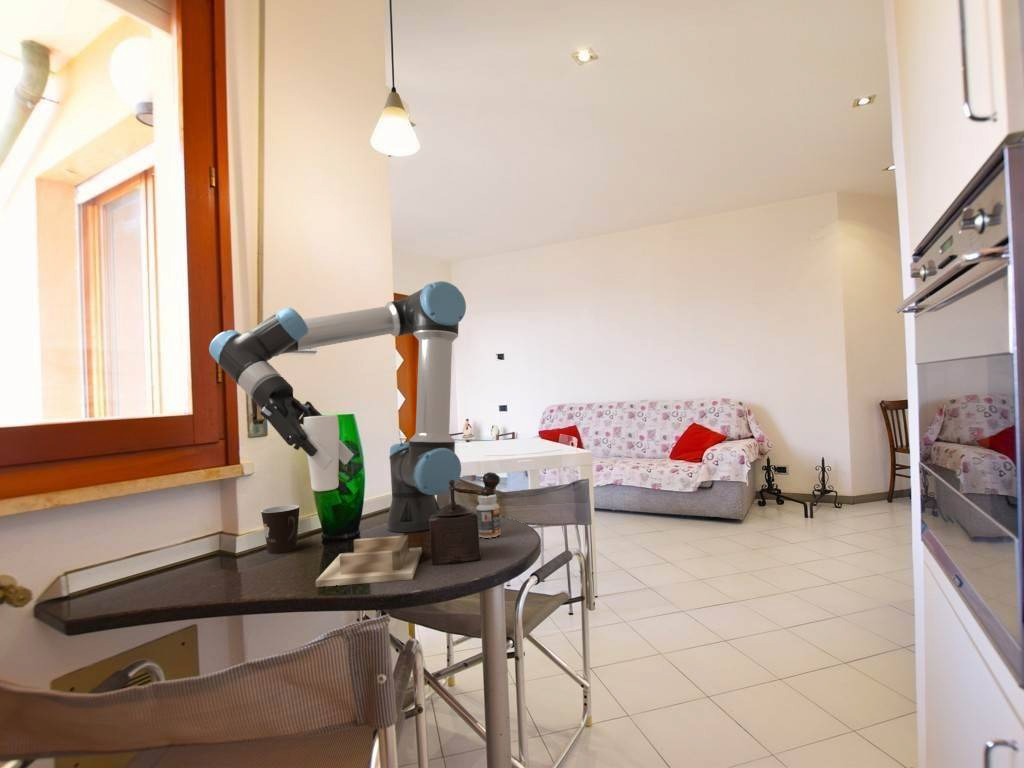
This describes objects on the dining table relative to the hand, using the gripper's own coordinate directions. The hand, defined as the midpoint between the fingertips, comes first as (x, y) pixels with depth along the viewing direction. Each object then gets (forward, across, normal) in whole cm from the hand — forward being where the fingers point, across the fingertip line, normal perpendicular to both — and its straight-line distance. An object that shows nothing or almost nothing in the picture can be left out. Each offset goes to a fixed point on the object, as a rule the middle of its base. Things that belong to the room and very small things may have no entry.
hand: (339, 461), depth 107 cm
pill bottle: (+31, -30, -2) cm, 43 cm away
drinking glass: (+1, 0, -6) cm, 7 cm away
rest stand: (+19, -4, -13) cm, 23 cm away
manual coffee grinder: (+31, -14, -2) cm, 34 cm away
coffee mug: (-3, -14, -35) cm, 38 cm away
